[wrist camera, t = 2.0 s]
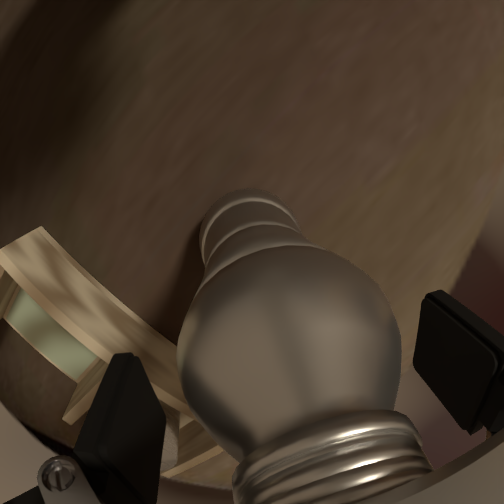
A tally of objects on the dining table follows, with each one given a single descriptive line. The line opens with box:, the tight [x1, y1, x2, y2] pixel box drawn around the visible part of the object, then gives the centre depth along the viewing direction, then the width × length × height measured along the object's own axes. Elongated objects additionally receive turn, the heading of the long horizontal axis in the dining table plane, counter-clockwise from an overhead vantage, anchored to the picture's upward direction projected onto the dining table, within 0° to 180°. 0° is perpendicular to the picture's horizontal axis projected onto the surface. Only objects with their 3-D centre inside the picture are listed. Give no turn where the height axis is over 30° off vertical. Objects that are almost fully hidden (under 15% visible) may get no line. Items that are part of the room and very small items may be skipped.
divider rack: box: [0, 226, 225, 478], centre depth 21 cm, size 23×11×6 cm, turn 43°
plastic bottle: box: [176, 189, 434, 504], centre depth 12 cm, size 6×7×20 cm
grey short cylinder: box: [158, 399, 181, 471], centre depth 22 cm, size 6×6×7 cm
